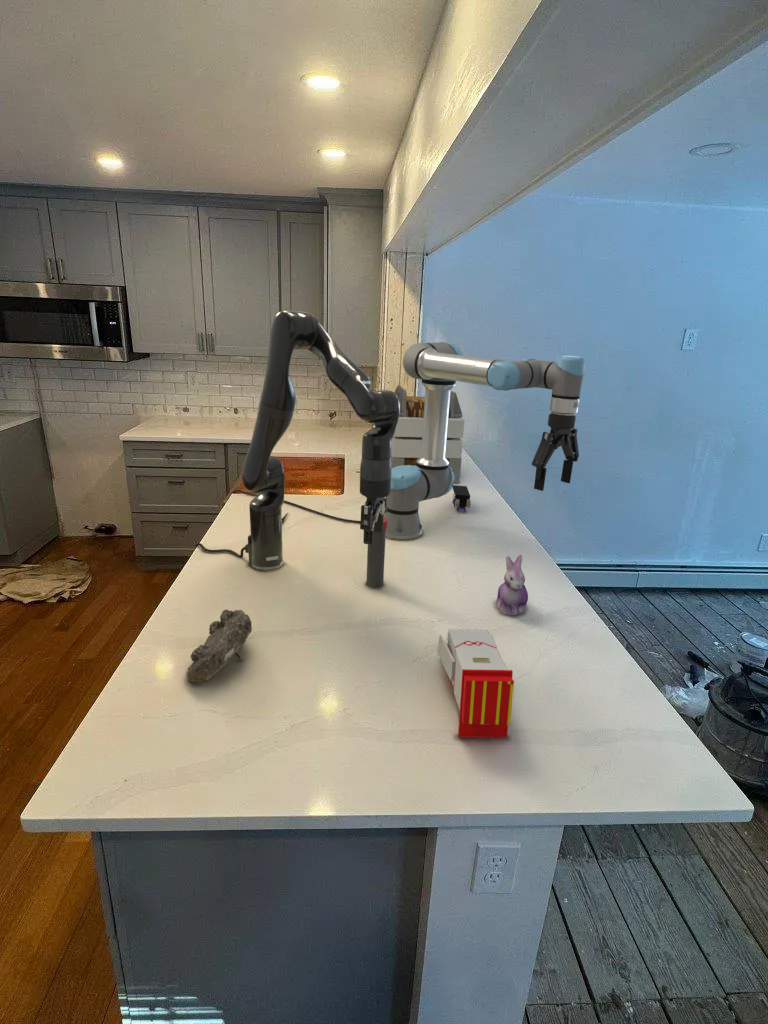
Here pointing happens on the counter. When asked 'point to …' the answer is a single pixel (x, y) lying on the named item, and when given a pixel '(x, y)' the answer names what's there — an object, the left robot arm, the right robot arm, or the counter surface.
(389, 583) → the counter surface
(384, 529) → the lid
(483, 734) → the toy
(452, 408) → the grey storage crate
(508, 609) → the figurine
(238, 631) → the fossil
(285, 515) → the feather
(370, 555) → the grey cylinder
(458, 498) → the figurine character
